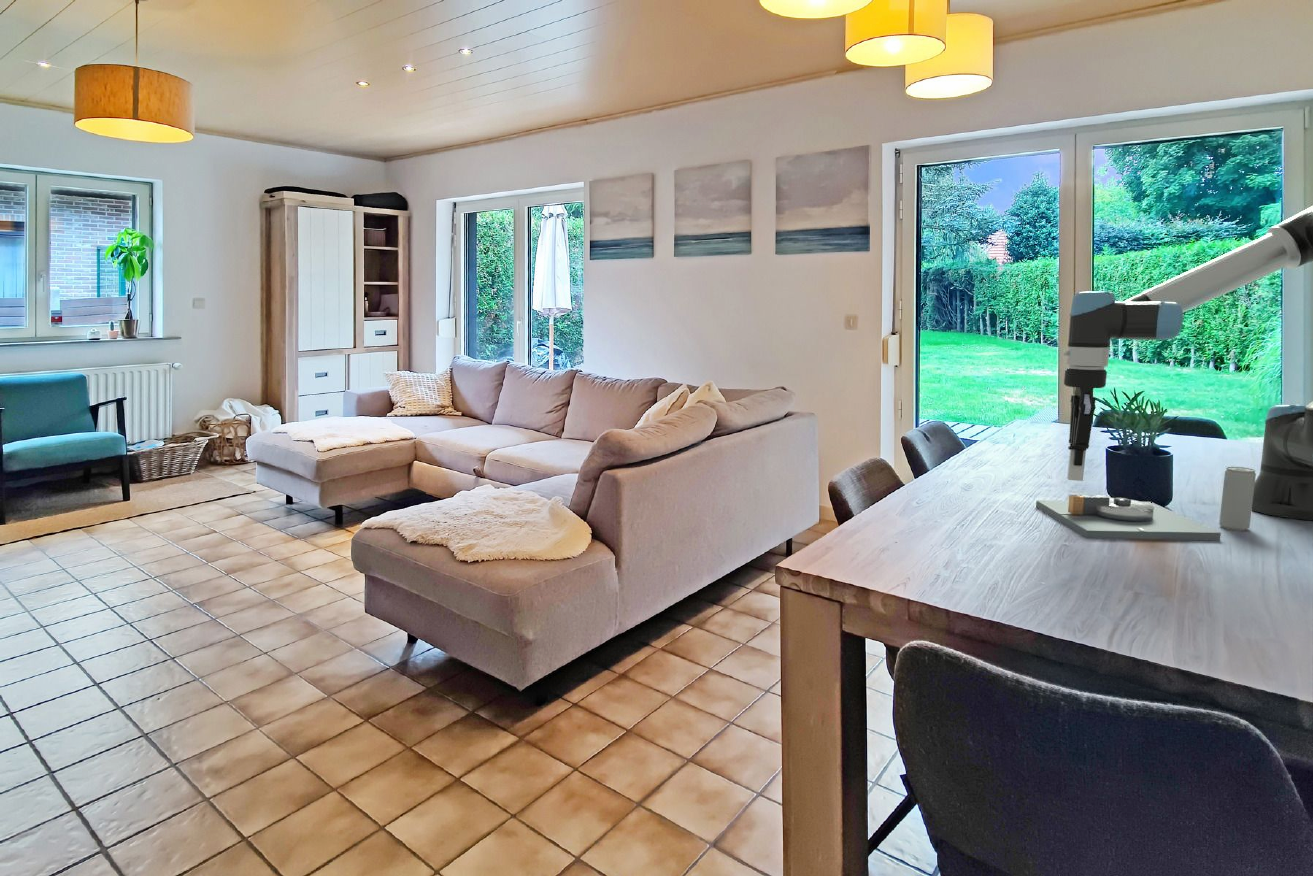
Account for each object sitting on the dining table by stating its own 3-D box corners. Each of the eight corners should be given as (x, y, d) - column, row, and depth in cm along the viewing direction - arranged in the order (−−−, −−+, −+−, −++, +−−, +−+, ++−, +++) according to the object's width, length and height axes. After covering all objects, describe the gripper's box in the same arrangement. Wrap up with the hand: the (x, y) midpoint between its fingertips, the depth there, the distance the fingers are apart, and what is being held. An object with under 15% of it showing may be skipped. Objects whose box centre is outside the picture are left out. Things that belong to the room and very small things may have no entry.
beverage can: (1254, 532, 147) (1261, 471, 145) (1226, 530, 148) (1233, 471, 146) (1240, 525, 152) (1247, 466, 150) (1213, 524, 153) (1220, 466, 151)
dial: (1135, 507, 159) (1136, 490, 159) (1164, 521, 149) (1166, 503, 148) (1058, 506, 161) (1059, 489, 160) (1082, 520, 150) (1083, 502, 149)
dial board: (1149, 508, 165) (1150, 500, 165) (1220, 540, 142) (1221, 531, 142) (1035, 506, 168) (1036, 498, 167) (1085, 538, 144) (1086, 529, 144)
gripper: (1061, 365, 163) (1050, 472, 166) (1070, 369, 150) (1059, 484, 154) (1100, 366, 160) (1089, 475, 164) (1113, 370, 148) (1101, 487, 152)
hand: (1075, 479), depth 159 cm, fingers closed
